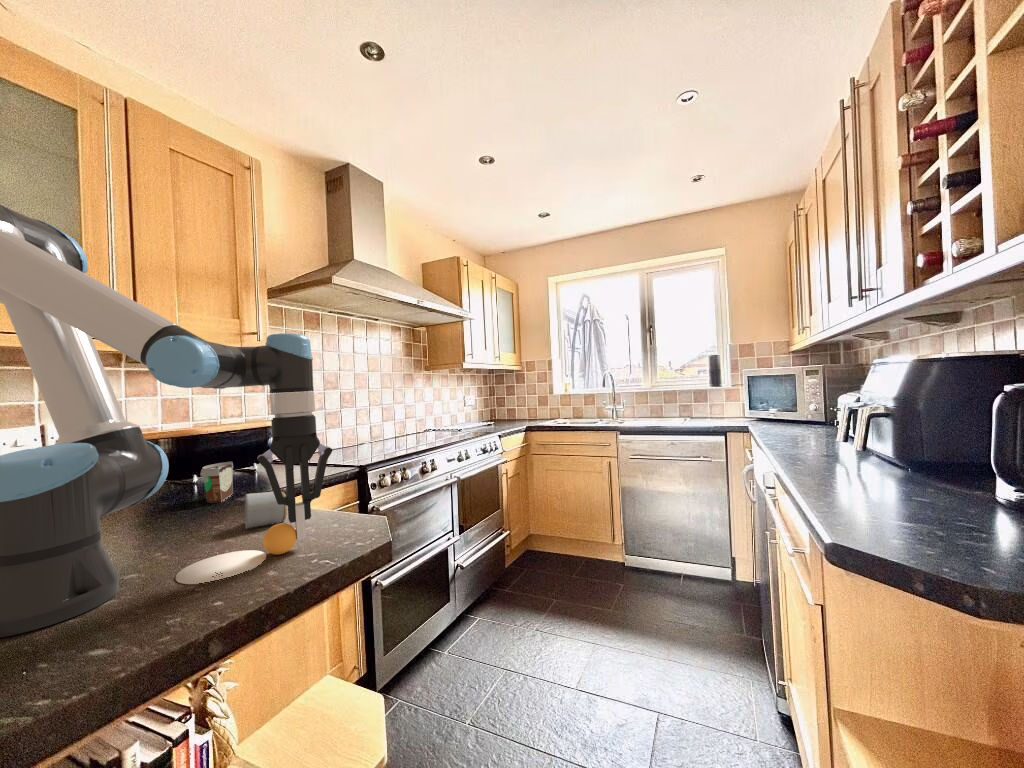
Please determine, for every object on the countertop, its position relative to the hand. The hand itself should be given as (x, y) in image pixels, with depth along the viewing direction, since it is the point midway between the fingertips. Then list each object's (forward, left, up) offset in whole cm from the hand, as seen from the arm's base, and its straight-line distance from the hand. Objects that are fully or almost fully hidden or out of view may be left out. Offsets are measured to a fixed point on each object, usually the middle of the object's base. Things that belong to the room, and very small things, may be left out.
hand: (300, 537), depth 79 cm
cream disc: (-12, 0, -2) cm, 13 cm away
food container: (-16, +61, -2) cm, 63 cm away
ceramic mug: (-5, +24, -2) cm, 25 cm away
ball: (-3, 0, +1) cm, 4 cm away
